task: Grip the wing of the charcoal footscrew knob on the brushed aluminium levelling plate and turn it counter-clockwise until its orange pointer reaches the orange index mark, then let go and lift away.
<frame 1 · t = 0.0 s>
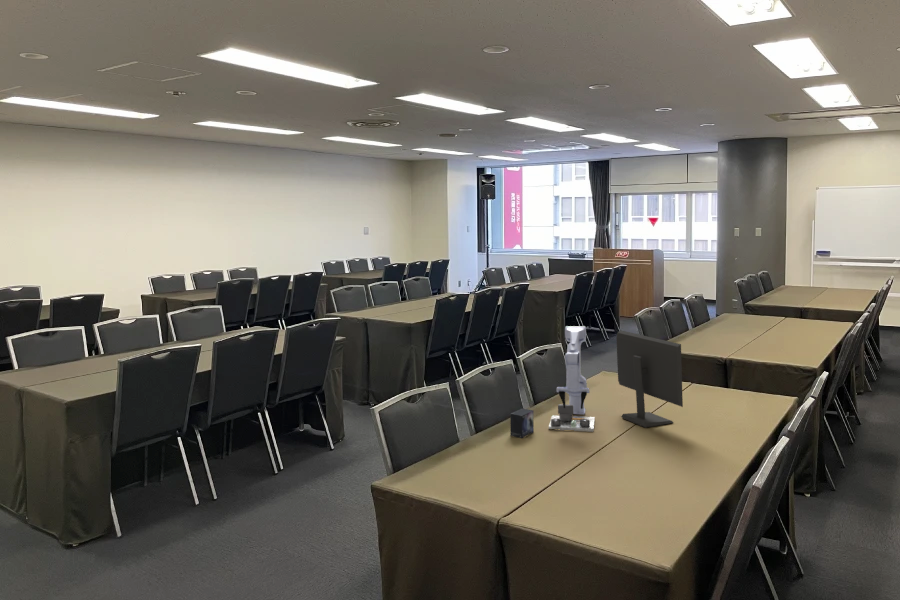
hand: (573, 407, 305), 10 cm above the table, tool pointing down, fingers open, 7 cm apart
computer monitor: (647, 421, 315), on the table
levelling plate: (572, 424, 313), on the table
small box: (522, 434, 302), on the table
knob: (571, 412, 314), point 5 cm above the table, hinge at 0.0°
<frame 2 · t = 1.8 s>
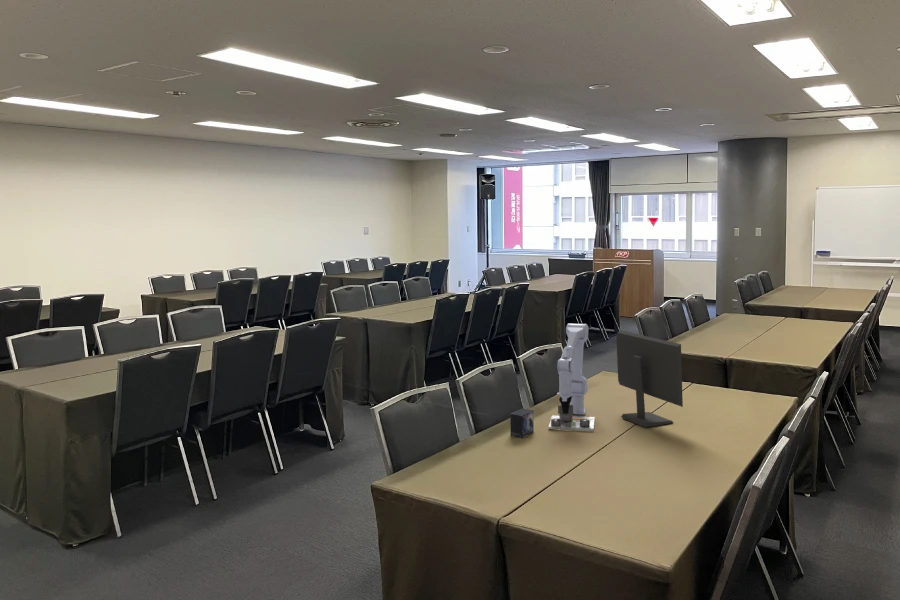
hand: (565, 412, 315), 5 cm above the table, tool pointing down, fingers closed on knob, 2 cm apart
knob: (571, 412, 314), point 5 cm above the table, hinge at 0.0°, touching gripper
everything else where it was.
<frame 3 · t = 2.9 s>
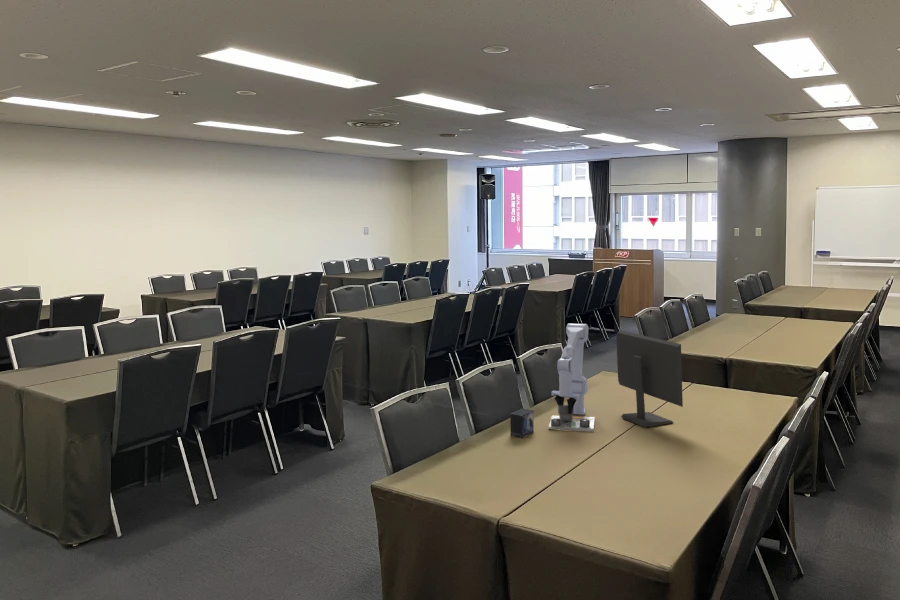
hand: (565, 412, 315), 5 cm above the table, tool pointing down, fingers closed on knob, 4 cm apart
knob: (570, 411, 315), point 5 cm above the table, hinge at 19.9°, touching gripper
everything else where it was.
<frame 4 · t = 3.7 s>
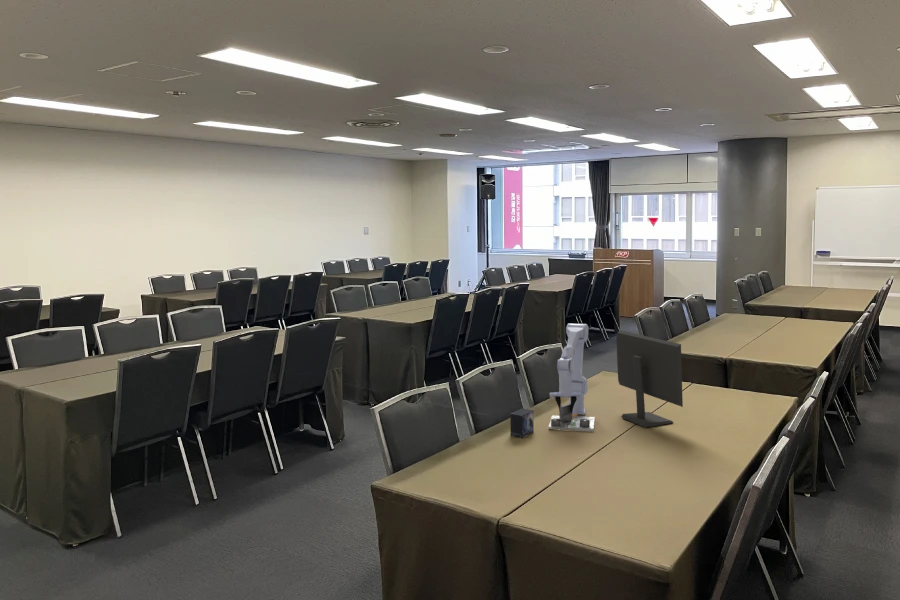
hand: (565, 412, 315), 5 cm above the table, tool pointing down, fingers closed on knob, 4 cm apart
knob: (569, 411, 317), point 5 cm above the table, hinge at 57.2°, touching gripper
everything else where it was.
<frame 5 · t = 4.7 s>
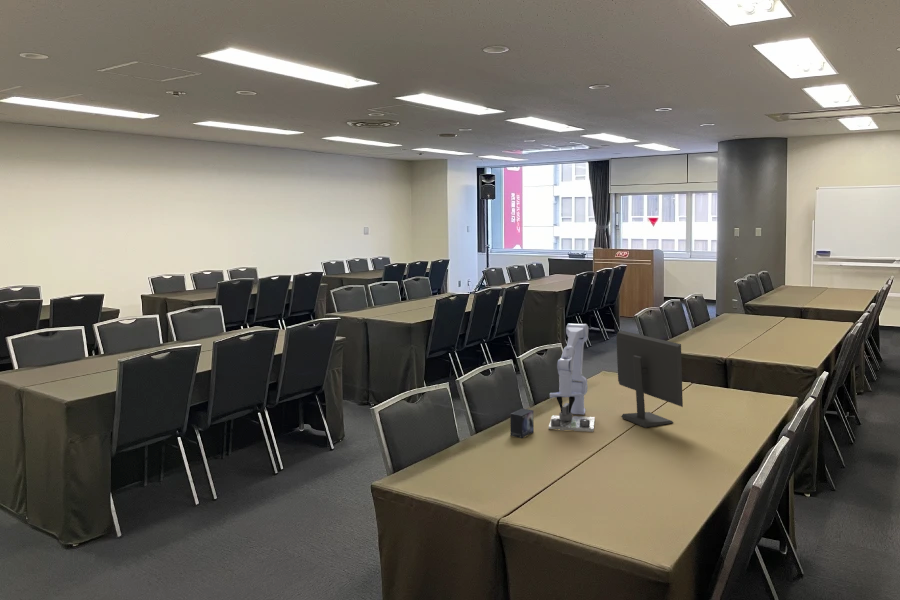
hand: (565, 412, 315), 5 cm above the table, tool pointing down, fingers closed on knob, 3 cm apart
knob: (567, 410, 317), point 5 cm above the table, hinge at 80.4°, touching gripper
everything else where it was.
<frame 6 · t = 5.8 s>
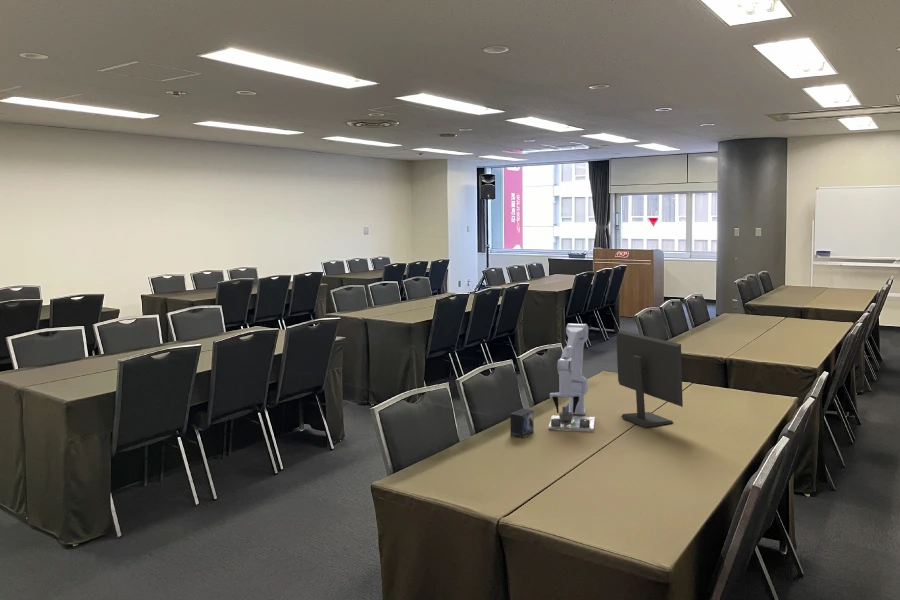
hand: (565, 412, 315), 5 cm above the table, tool pointing down, fingers open, 7 cm apart
knob: (566, 410, 317), point 5 cm above the table, hinge at 83.5°
everything else where it was.
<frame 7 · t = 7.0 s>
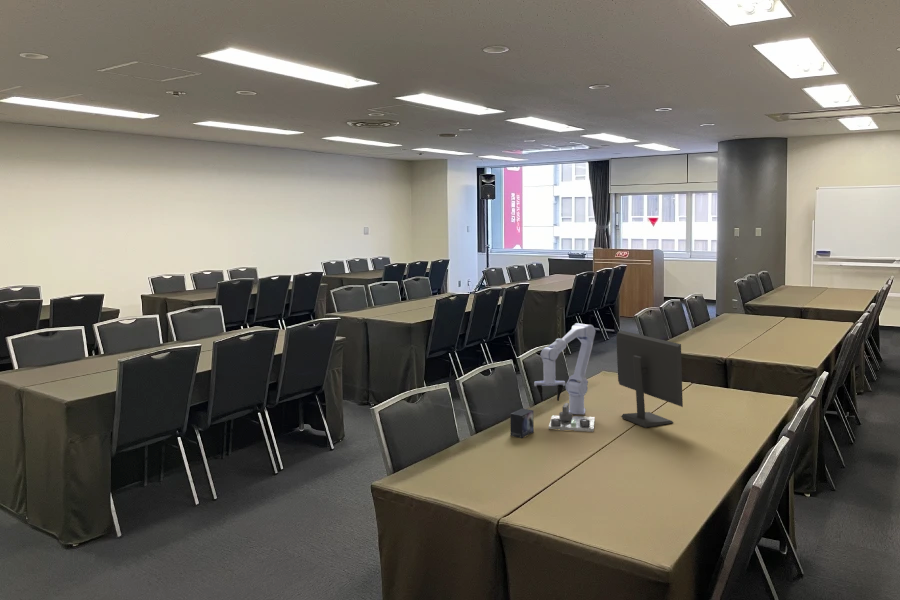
hand: (549, 400, 321), 9 cm above the table, tool pointing down, fingers open, 7 cm apart
knob: (566, 410, 317), point 5 cm above the table, hinge at 84.3°
everything else where it was.
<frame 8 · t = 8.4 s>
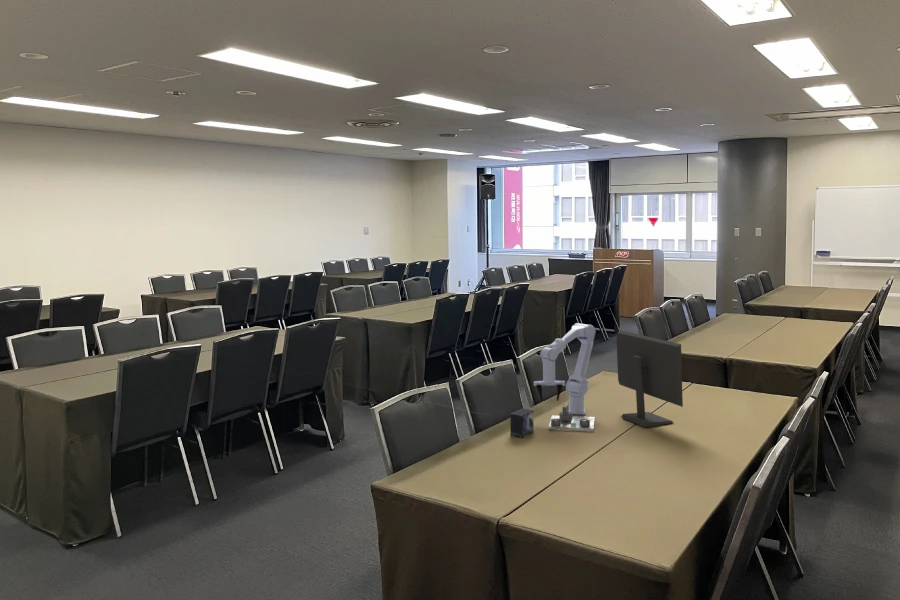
hand: (549, 400, 321), 9 cm above the table, tool pointing down, fingers open, 7 cm apart
nothing on the table moved.
at the end: knob at +84° (first picture: +0°); small box moved 0.3 cm from its start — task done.
